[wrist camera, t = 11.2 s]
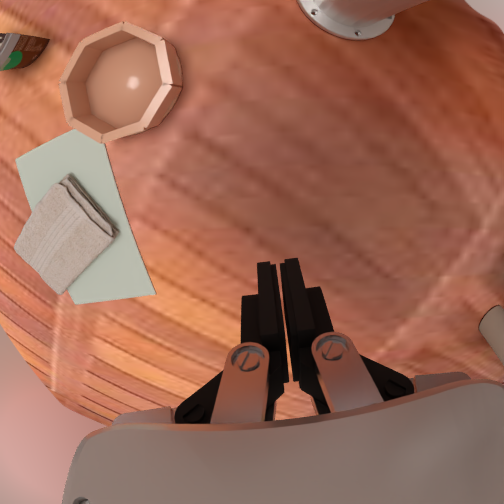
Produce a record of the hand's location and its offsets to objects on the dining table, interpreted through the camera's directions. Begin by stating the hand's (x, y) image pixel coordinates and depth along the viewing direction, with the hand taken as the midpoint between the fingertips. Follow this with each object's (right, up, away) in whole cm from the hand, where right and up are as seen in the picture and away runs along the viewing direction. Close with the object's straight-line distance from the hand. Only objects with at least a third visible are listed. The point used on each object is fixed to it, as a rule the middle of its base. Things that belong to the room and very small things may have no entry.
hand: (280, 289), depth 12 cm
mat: (-25, +5, +24) cm, 35 cm away
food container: (-33, +29, +11) cm, 45 cm away
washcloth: (-29, +4, +24) cm, 38 cm away
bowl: (-15, +21, +15) cm, 30 cm away
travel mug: (+55, -14, +38) cm, 68 cm away
